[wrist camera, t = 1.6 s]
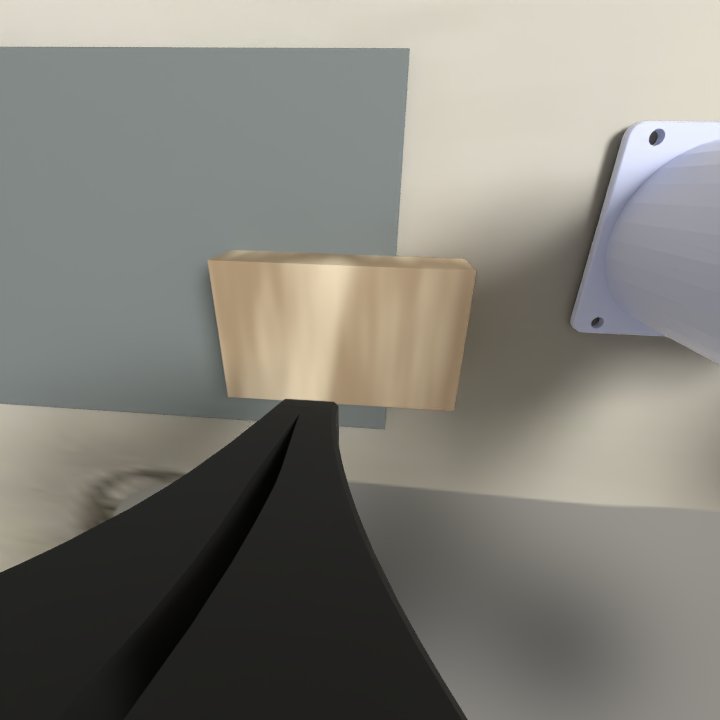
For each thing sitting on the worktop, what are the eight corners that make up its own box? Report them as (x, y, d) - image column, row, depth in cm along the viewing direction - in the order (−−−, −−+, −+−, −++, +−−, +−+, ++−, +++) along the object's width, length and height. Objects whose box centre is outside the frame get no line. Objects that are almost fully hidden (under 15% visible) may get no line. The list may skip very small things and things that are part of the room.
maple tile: (233, 249, 16) (464, 258, 15) (248, 371, 19) (446, 383, 18) (207, 260, 14) (476, 271, 13) (227, 396, 16) (454, 411, 16)
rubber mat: (408, 53, 13) (409, 48, 13) (384, 423, 20) (384, 429, 19) (-152, 50, 14) (-170, 46, 14) (6, 398, 21) (-2, 403, 21)
